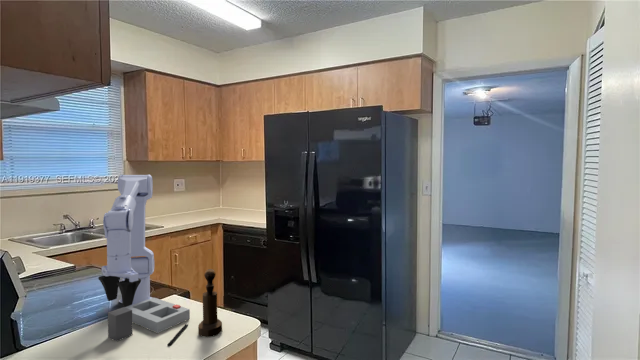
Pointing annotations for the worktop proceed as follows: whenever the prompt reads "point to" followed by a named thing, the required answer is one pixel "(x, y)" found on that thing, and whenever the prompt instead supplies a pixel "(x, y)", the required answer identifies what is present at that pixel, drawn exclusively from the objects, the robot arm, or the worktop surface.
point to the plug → (119, 323)
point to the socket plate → (158, 314)
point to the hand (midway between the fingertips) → (119, 302)
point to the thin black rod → (177, 335)
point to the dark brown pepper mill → (210, 309)
